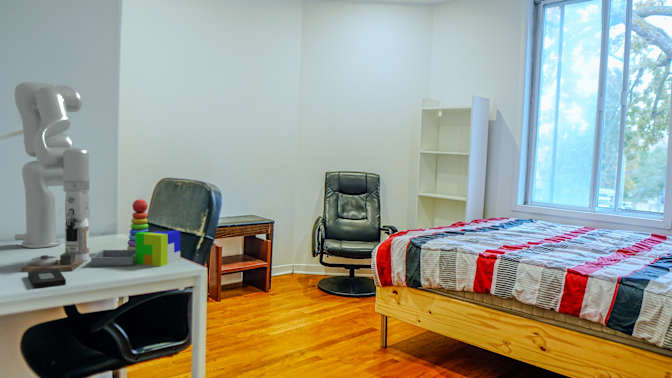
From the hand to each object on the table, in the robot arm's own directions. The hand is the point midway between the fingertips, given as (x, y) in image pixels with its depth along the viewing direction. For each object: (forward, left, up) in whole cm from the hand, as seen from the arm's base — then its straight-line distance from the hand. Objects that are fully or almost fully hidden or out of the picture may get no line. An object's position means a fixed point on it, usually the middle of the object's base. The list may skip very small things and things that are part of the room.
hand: (77, 238), depth 166 cm
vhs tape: (0, -25, -8) cm, 27 cm away
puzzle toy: (+26, -3, -8) cm, 27 cm away
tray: (+13, -3, -7) cm, 15 cm away
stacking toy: (+16, +16, -7) cm, 24 cm away
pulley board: (-4, -9, -7) cm, 13 cm away
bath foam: (0, 0, -7) cm, 7 cm away
